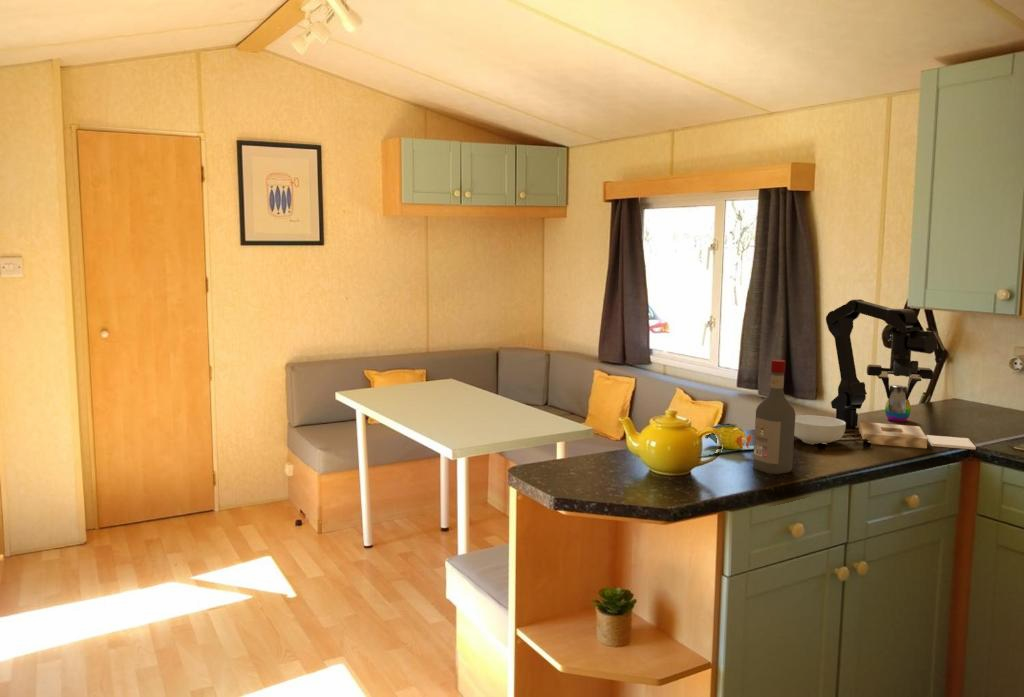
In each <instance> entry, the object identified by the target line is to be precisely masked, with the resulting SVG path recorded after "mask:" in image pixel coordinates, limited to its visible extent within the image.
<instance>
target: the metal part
mask: <svg viewBox="0 0 1024 697" xmlns="http://www.w3.org/2000/svg"><path fill="white" fill-rule="evenodd" d="M906 395H907V386H906V385H899V384H891V385H890V384H889V398H888V399H889V402H888V411H889V412H893V413H905V408H906Z"/></svg>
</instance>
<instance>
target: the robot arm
mask: <svg viewBox="0 0 1024 697" xmlns="http://www.w3.org/2000/svg"><path fill="white" fill-rule="evenodd" d="M916 312H917V311H915V310H913V309H907V308H891V307H887V306H885V305H884V306H883V305H880V304H876V303H873V302H869V301H865V300H863V299H860V298H859V299H850V300H848V301H847V302H846V303H844V304H843V305H841V306H839V307H837V308H835V309H834V310H831V311H829V312H828V313H827V315H826V317H825V322H826V325H827V326H826V327H827V329H828V331H829V332H830V334H831V335H832V336H833V337H834V338H833V339H834V342H835V344H834V345H835V348H836V349H835V350H836V356H837V360H838V361H837V363H838V368H839V369H838V370H839V374H840V382H839V385H838V387H837V396H836V397H834V398H833V399H832V400H831V401H830V405H831V409H835V417H834V418H836V419H840V420H842V421H844V422H845V423H846V428H845V429H855V430H856V429H857V427H858V423H859V422H858V421H859V420H858V419H859V413H858V412H857V410H858V409H859V410H861V409H862V405H863V404H864V402H865V400H866V398H867V396H866V395H868V393H867V391H866V383H865V382H863V381H862V382H861V381H860V380H859V379H858V376H857V370H856V364H855V358H854V357H855V356H854V352H853V351H854V350H853V346H852V340H851V334H852V331H853V329H854V321H855V320H857V319H858V318H859V316H860V315H861V314H862V315H865V316H868V317H872V318H875V319H878V320H882V321H884V323H885V324H886V325H889V326H891V328H890V329H888V330H887V331H886V332H885V333H886V334H887V335H891V347H890V360H889V361H890V363H889V367H882V366H881V364H868V365H867V366H866V374H867V376H871V377H872V376H873V377H875V376H876V377H877V378H878V379H880V380H881V381H882V383H883V386H884V390H885V393H886V397H887V399H889V388H890V382H889V381H890V378H889V375H894V377H906V378H908V383H907V386H906V387H907V395H906V400H909V397H910V396H911V393H912V391H913V389H914V387H915V385H916V384H917V383H918V382H922V379H925V380H934V371H933V370H932V369H931V367H919V360H911V358H912V352H914V353H921V354H928V355H930V354H933V353H934V352H935V351H936V349H937V348H938V342H937V338H936V336H935V335H934V331H931V330H924V327H923V326H922V324H921V322H920V320H919V319H918V315H917V314H916Z"/></svg>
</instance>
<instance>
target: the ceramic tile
mask: <svg viewBox="0 0 1024 697" xmlns="http://www.w3.org/2000/svg"><path fill="white" fill-rule="evenodd" d="M925 436H926V437H927V442H929V444H930V446H932V447H939V448H940V447H941V448H951V449H952V448H953V449H962V450H974V451H975V450H976V448H977V447H976V446H975V445H974V443H973V442H972V441H971V440H970V438H968V437H956V436H955V437H954V436H944V435H931V434H930V435H929V434H926V435H925Z"/></svg>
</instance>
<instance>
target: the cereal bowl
mask: <svg viewBox="0 0 1024 697" xmlns="http://www.w3.org/2000/svg"><path fill="white" fill-rule="evenodd" d="M846 429H847V428H846V423H845V422H844V421H842V420H840V419H836V418H835V417H831V416H825V415H823V416H822V415H813V414H812V415H811V414H806V415H805V414H801V415H795V430H794V438H798V439H799V440H801V441H802V442H803V443H805V444H809V445H814V444H815V443H828V442H829V443H833V442H835V441H838V440H840V439H841V438H842V437H843V436H844V434H845V432H846Z"/></svg>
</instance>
